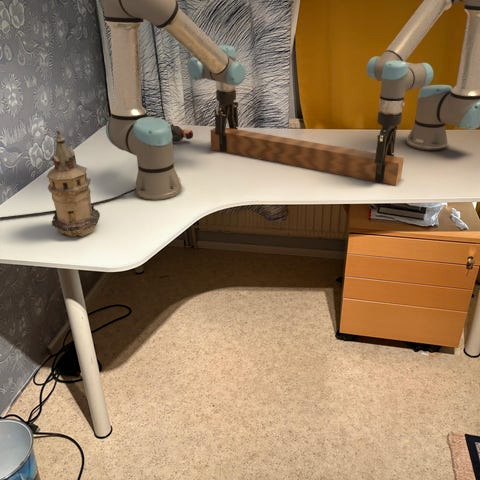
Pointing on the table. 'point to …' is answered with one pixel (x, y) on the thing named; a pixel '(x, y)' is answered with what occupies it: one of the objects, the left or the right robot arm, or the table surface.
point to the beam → (309, 155)
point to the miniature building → (70, 193)
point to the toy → (180, 133)
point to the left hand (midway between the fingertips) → (227, 148)
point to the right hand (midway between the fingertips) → (381, 178)
